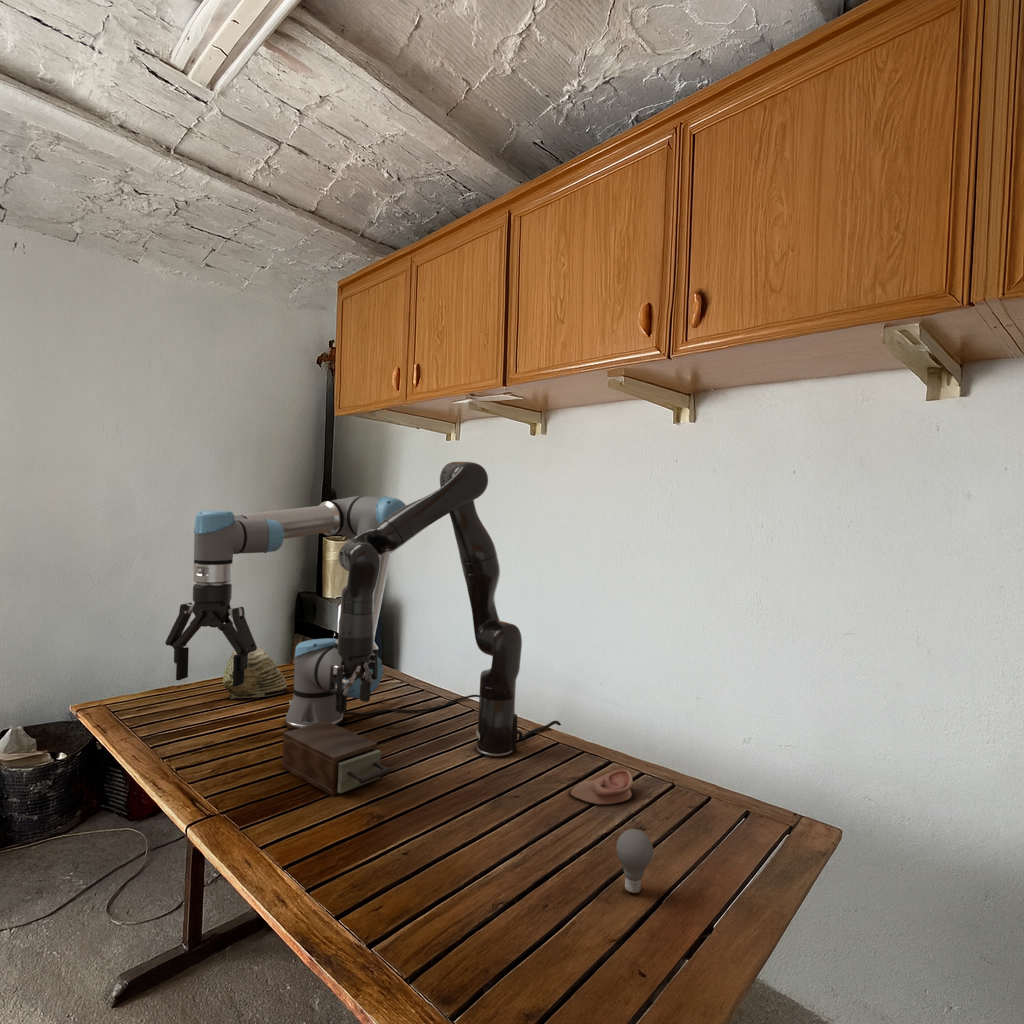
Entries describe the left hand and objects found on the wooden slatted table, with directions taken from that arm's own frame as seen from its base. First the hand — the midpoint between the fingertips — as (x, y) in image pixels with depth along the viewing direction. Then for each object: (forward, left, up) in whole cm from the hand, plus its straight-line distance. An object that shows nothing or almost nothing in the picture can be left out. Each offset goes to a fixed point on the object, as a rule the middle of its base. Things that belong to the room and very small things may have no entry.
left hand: (209, 681), depth 136 cm
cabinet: (-22, +13, -23) cm, 34 cm away
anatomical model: (-57, +64, -23) cm, 89 cm away
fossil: (-39, -50, -23) cm, 68 cm away
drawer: (-22, +18, -22) cm, 36 cm away
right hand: (-21, +22, -5) cm, 31 cm away
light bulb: (-30, +86, -23) cm, 94 cm away
